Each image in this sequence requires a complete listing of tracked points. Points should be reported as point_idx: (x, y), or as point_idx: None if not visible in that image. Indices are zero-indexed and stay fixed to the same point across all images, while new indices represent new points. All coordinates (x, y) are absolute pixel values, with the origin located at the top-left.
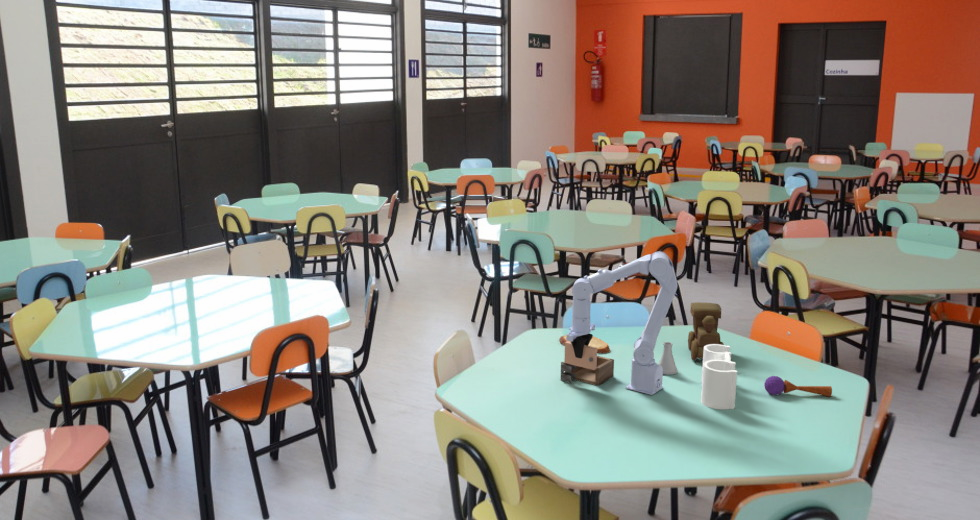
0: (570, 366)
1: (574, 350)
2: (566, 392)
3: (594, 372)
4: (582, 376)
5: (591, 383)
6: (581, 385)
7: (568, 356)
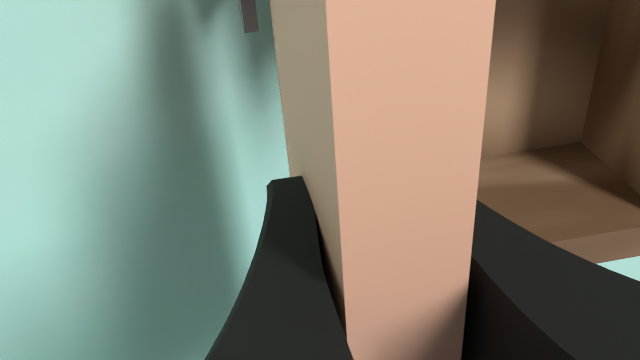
0: (243, 22)
1: (260, 258)
2: (2, 98)
3: (561, 31)
4: None
5: None
6: (256, 88)
7: (279, 7)
